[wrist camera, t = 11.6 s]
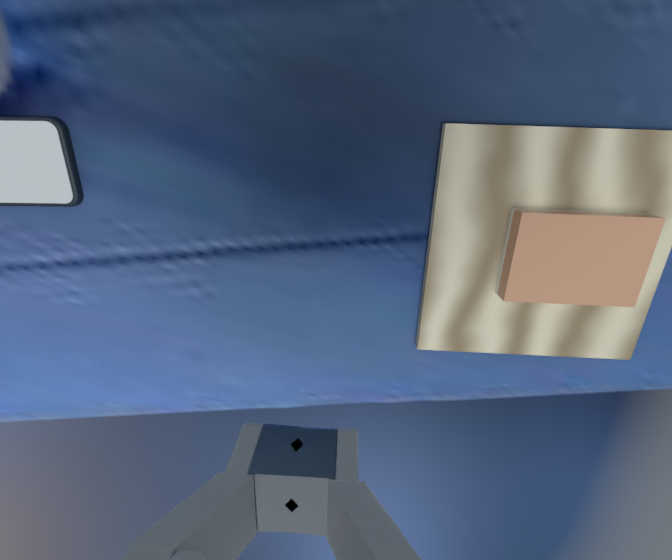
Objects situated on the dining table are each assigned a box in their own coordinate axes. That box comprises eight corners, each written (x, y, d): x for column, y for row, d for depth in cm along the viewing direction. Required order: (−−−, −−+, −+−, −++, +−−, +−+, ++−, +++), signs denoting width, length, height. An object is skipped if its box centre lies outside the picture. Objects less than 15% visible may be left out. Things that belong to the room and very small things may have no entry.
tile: (522, 212, 35) (665, 218, 34) (511, 208, 37) (646, 213, 36) (503, 301, 38) (634, 307, 37) (495, 292, 40) (618, 297, 40)
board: (415, 343, 44) (417, 349, 43) (442, 123, 35) (445, 123, 34) (622, 354, 43) (630, 359, 42) (701, 132, 35) (713, 131, 34)
